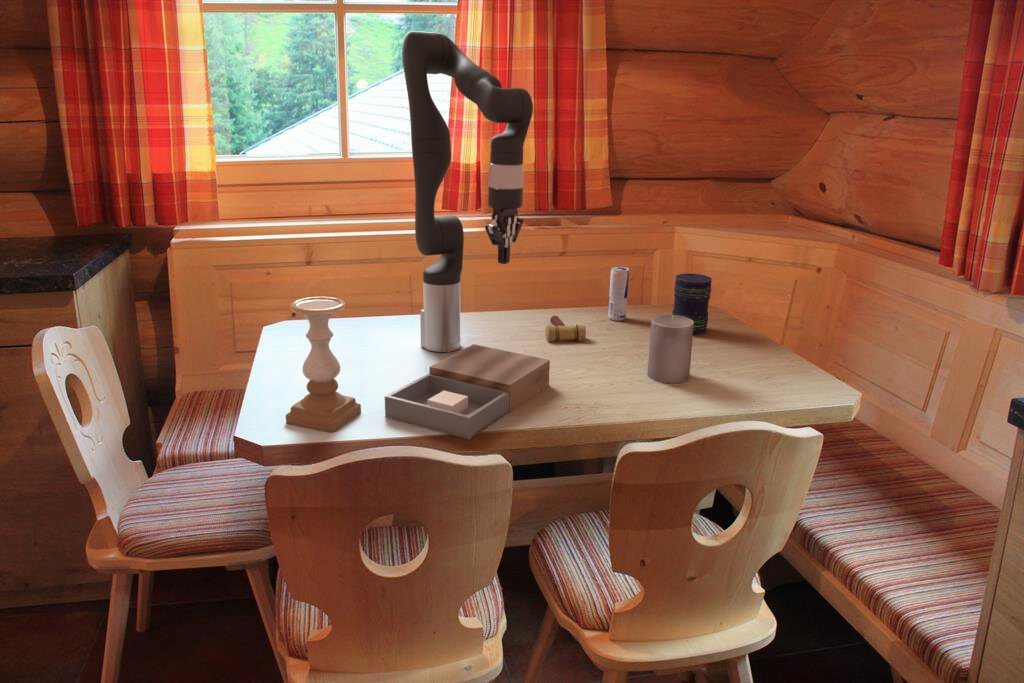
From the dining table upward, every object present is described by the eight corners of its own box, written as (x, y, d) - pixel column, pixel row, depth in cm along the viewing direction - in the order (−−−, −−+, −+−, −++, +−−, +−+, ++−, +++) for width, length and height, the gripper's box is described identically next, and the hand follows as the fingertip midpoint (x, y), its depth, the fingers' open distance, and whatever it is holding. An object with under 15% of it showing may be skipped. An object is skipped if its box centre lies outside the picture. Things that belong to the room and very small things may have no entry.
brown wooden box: (429, 392, 174) (429, 366, 172) (473, 368, 189) (473, 344, 187) (509, 412, 165) (510, 385, 163) (548, 385, 180) (549, 360, 178)
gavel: (535, 309, 227) (570, 309, 228) (535, 325, 228) (569, 324, 230) (548, 327, 207) (586, 326, 208) (548, 344, 208) (585, 343, 209)
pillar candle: (663, 366, 193) (667, 306, 189) (697, 376, 187) (703, 315, 182) (638, 376, 187) (642, 314, 182) (673, 387, 180) (678, 324, 176)
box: (385, 416, 161) (384, 396, 160) (428, 392, 174) (428, 373, 172) (469, 439, 152) (469, 418, 151) (508, 412, 165) (509, 392, 163)
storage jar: (710, 336, 217) (716, 282, 212) (674, 335, 217) (678, 281, 212) (702, 325, 226) (707, 273, 222) (667, 324, 226) (672, 273, 222)
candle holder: (284, 423, 157) (276, 306, 150) (316, 403, 167) (309, 293, 159) (332, 433, 154) (326, 313, 146) (362, 412, 163) (357, 299, 156)
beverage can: (628, 318, 231) (632, 267, 226) (621, 322, 227) (624, 271, 222) (612, 315, 234) (615, 265, 229) (604, 319, 230) (607, 268, 225)
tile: (443, 390, 167) (443, 401, 168) (427, 399, 162) (427, 411, 163) (468, 396, 164) (468, 407, 165) (452, 406, 159) (452, 417, 160)
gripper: (506, 179, 180) (504, 255, 185) (474, 186, 169) (473, 266, 175) (535, 183, 176) (532, 260, 182) (505, 190, 165) (502, 271, 171)
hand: (503, 263), depth 178 cm, fingers closed
